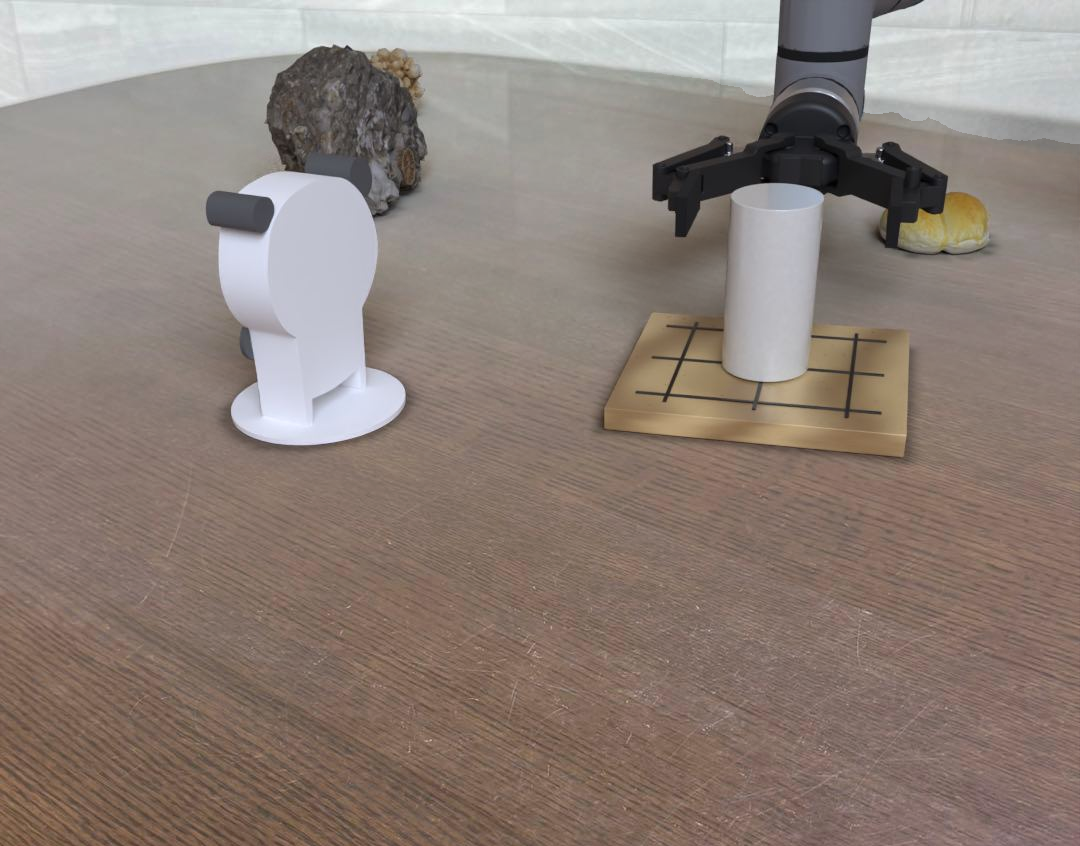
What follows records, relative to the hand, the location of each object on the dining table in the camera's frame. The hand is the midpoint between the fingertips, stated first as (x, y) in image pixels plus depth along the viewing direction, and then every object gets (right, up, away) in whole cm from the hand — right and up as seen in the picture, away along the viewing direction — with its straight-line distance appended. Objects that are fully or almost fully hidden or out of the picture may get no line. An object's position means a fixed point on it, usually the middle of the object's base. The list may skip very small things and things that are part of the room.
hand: (785, 222), depth 78 cm
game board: (-1, -11, +1) cm, 11 cm away
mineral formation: (-38, +30, +68) cm, 84 cm away
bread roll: (+18, +5, +25) cm, 31 cm away
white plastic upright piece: (-30, -12, +1) cm, 32 cm away
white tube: (-1, -9, +1) cm, 9 cm away
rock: (-34, +13, +40) cm, 54 cm away
